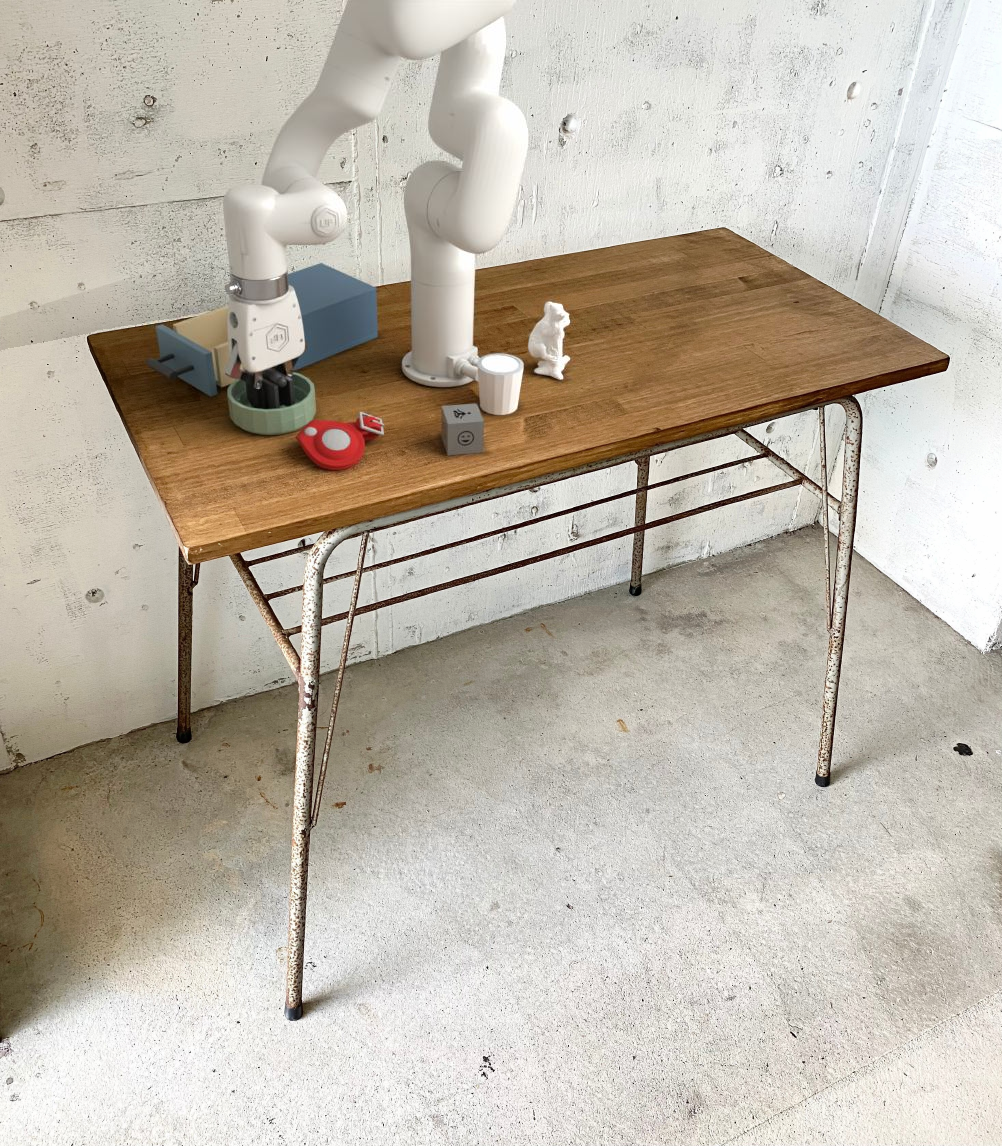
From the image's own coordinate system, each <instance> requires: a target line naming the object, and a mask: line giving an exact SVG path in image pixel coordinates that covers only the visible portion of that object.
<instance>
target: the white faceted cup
mask: <svg viewBox="0 0 1002 1146" xmlns="http://www.w3.org/2000/svg"><path fill="white" fill-rule="evenodd" d="M479 358H480V359H479V360H478V363H477V368H478V381H477V382H478V397H479V407H480V408H481V410H482V411H483V412H486V413H487V414H490V415H494V416H504V415H510V414H512V413H515V412H516V411H517V410H518V406H519V401H520V400H519V398H520V392H521V386H522V379H523V373H524V367H525V366H524V365H525V363H524V362H523V360H522V359H521V358H519V357H517V356H516V355H512V354H508V353H500V352H499V353H489V354H486V355H483V356H481V357H479Z"/></svg>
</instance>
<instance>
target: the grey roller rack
mask: <svg viewBox="0 0 1002 1146" xmlns="http://www.w3.org/2000/svg"><path fill="white" fill-rule="evenodd" d="M252 376H253V375H252ZM262 386H264V387H265V388H266V395H267V406H268V409H279V408H280V406H282V405H284V406H286V407H288V406H292V405H294V404H295V397H294V384H293V379H291V378H289V377H288V376H286V375H284V374H282V373H280V372H278V371H277V370H276V369H275V368H274V367H272V368H269V369H266V370H264V371H263V372H262ZM246 392H247V399H248V400H249V392H248V384H247V383H246ZM249 402H250V401H249Z"/></svg>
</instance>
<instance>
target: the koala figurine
mask: <svg viewBox="0 0 1002 1146" xmlns="http://www.w3.org/2000/svg"><path fill="white" fill-rule="evenodd" d="M543 312H544V313H543V314H544V316H543V317H542V318H541V319H540V320H539V321H538V322H537V323H536V324H535V326H534V327H533V329H532V331H531V332H530V334H529V337H528V343H527V348H528V352H529V354H530V356H531V357H533V358H534V359H539V358H541V359H542V360H539V361H538V362H537V366H538V367H536V368H534V373H535V374H537V375H544V376H550V377H552V378H554V379H556V380H562V381H563V379H564V376H563V374H562V371H563V370H565V366H566V365H567V364H568V362H569V361H570V360H571V358H570V357H569V355H564V354H563V346H564V345H563V339H565V331H564V328H566V327H569V325H570V323H571V321H570V317H569V316H570V313H569V312H567V311H565V310H564V307H563V304H562V303H558V302H552V301H546V302H545V304H544V307H543ZM563 355H564V356H563Z"/></svg>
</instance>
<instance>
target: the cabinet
mask: <svg viewBox="0 0 1002 1146" xmlns="http://www.w3.org/2000/svg"><path fill="white" fill-rule="evenodd" d="M288 282H289V285H290V286H292V287H293V288H294V290H295V293H296V297H297V300H298V303H299V307H300V312H301V317H302V323H303V330H304V339H305V343H306V344H307V349H306V350H305V351H304V352H303V354H302V355H301V356H300V357H299V358H298V361H297V363H296V364H295V366H294V368H293V372H296V371H297V370H300V369H302V368H305V367H308V366H310V365H313V364H316V363H317V362H320V361H322V360H325V359H327V358H329V357H332V356H334V355H335V356H336V355H337V354H339V353H342V352H344V351H347V350H349V349H352V348H354V347H358V346H359V345H362V344H364V343H367V342H369V341H372V340H374V339H376V338H378V337H379V334H378V333H379V329H378V328H379V326H378V295H377V293H378V292H377V287H375V286H374V285H372V284H369V283H368V282H367V283H366V282H365V281H362V280H360V279H358V278H356V277H353V276H352V275H349V274H347V273H345V272H342V271H341V270H339V269H336V268H333V267H332V266H329V265H327V264H325V263H323V262H320V263H316V264H314V265H311V266H308V267H305V268H302V269H299V270H296V271H293V272H289V273H288Z"/></svg>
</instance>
